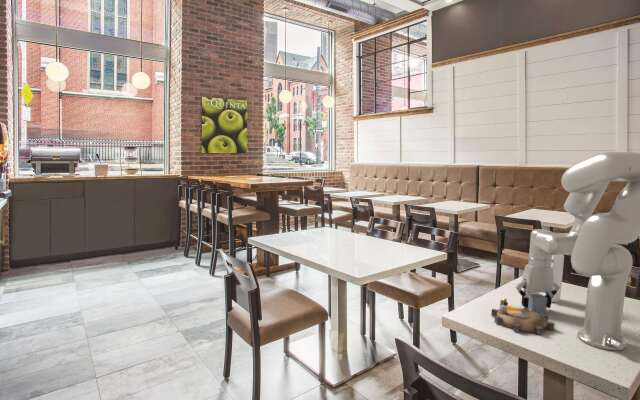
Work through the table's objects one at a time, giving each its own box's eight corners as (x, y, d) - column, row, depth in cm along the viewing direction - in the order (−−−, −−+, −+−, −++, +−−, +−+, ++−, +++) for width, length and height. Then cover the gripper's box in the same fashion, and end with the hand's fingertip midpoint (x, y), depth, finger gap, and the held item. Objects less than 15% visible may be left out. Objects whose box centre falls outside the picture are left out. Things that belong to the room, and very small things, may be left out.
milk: (536, 297, 162) (540, 245, 160) (547, 295, 164) (551, 244, 162) (549, 302, 157) (554, 249, 154) (560, 301, 159) (565, 248, 156)
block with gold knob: (507, 310, 149) (508, 299, 148) (503, 310, 149) (504, 299, 148) (504, 307, 151) (504, 296, 150) (500, 307, 151) (500, 296, 150)
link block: (545, 313, 146) (547, 297, 146) (535, 313, 146) (536, 297, 145) (536, 307, 152) (537, 292, 151) (526, 307, 152) (527, 292, 151)
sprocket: (556, 319, 140) (557, 307, 139) (549, 340, 124) (551, 326, 123) (497, 306, 151) (498, 295, 151) (485, 323, 136) (485, 311, 135)
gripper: (555, 259, 151) (551, 302, 153) (512, 259, 150) (508, 303, 152) (568, 265, 144) (564, 310, 146) (522, 265, 143) (519, 310, 145)
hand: (535, 306), depth 149 cm, fingers open, 8 cm apart
